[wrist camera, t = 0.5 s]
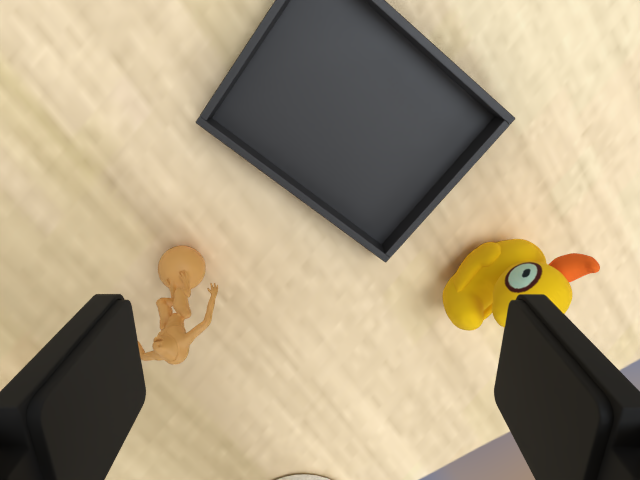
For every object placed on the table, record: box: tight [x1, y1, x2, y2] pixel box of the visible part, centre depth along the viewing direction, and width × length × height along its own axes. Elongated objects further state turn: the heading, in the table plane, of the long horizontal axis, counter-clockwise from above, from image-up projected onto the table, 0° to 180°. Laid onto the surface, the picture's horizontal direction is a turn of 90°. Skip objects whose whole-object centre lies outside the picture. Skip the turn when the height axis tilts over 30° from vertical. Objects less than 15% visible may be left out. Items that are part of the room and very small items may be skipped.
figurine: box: [138, 246, 218, 364], centre depth 36 cm, size 8×6×12 cm
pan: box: [196, 0, 515, 262], centre depth 36 cm, size 15×19×3 cm
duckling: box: [443, 239, 600, 330], centre depth 37 cm, size 11×5×10 cm, turn 129°
